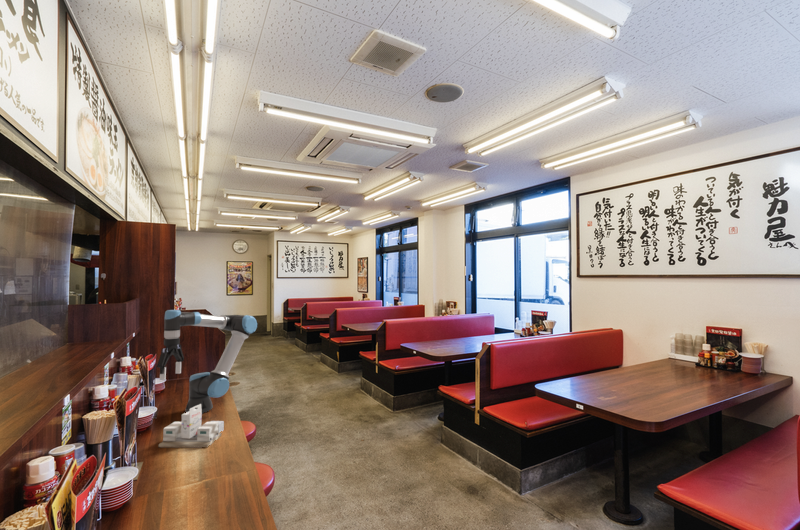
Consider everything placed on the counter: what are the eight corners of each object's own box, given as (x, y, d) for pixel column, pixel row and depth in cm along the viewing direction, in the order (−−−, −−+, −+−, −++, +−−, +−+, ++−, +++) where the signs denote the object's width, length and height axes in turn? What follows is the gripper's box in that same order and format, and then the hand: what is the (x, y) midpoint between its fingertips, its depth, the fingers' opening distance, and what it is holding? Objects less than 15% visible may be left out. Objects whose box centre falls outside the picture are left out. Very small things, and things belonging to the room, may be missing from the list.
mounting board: (176, 435, 193) (176, 419, 194) (221, 435, 193) (221, 420, 194) (158, 447, 179) (159, 430, 180) (207, 447, 179) (207, 430, 180)
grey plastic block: (211, 430, 201) (211, 420, 201) (223, 430, 200) (223, 421, 201) (206, 433, 196) (206, 424, 196) (218, 434, 195) (218, 424, 196)
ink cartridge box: (193, 431, 191) (194, 402, 192) (201, 432, 190) (202, 403, 191) (180, 438, 183) (181, 408, 183) (189, 438, 182) (190, 408, 182)
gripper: (178, 334, 216) (177, 371, 215) (149, 341, 191) (148, 382, 190) (191, 334, 216) (190, 371, 215) (164, 341, 191) (162, 382, 190)
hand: (170, 376), depth 203 cm, fingers open, 13 cm apart
